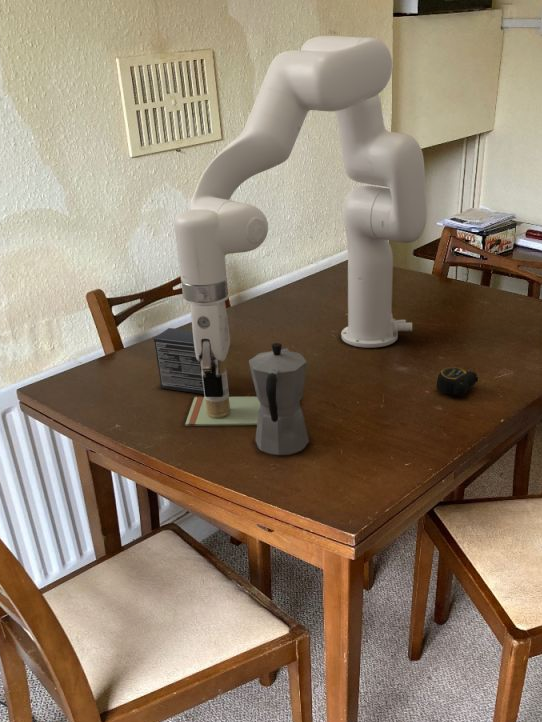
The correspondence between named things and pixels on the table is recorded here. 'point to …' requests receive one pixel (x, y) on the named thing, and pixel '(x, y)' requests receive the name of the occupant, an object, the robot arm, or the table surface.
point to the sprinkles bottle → (218, 405)
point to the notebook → (241, 414)
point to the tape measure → (455, 381)
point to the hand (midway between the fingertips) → (216, 389)
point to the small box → (178, 361)
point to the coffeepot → (279, 400)
